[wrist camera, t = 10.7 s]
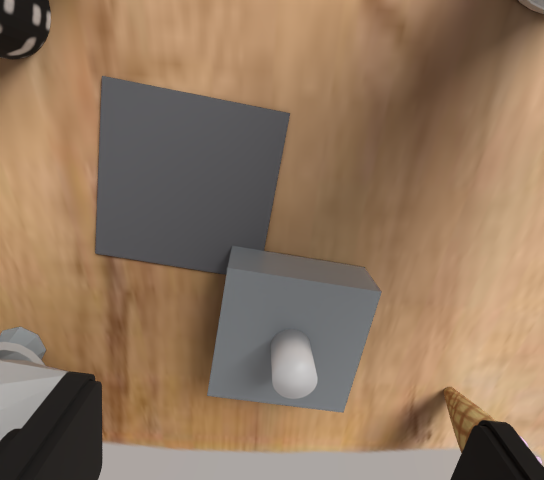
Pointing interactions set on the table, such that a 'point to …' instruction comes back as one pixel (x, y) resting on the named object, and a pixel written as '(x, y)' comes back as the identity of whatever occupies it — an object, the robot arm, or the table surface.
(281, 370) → the lid
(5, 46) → the spotted tube
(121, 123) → the rubber mat
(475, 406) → the ice cream cone
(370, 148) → the table surface
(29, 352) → the jet engine
